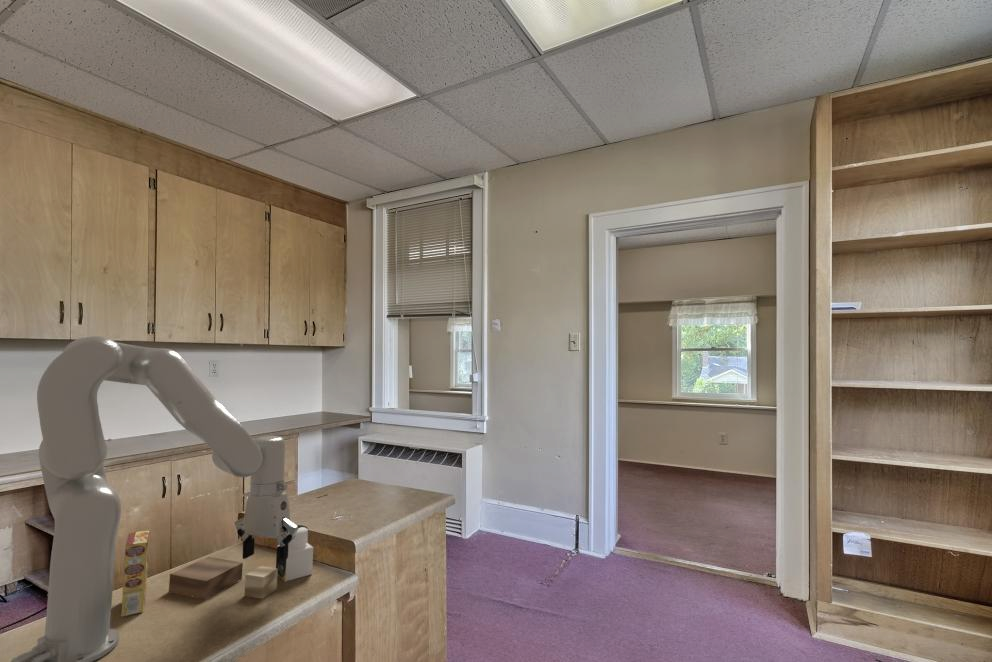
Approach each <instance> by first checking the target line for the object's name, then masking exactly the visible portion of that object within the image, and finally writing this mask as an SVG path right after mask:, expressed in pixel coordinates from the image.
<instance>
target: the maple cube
mask: <svg viewBox="0 0 992 662" xmlns="http://www.w3.org/2000/svg"><path fill="white" fill-rule="evenodd" d="M277 573H278V569H277V568H276V567H270V566H263V565H259V566H258V567H256V568H254V569H253V570H251V571H249V572H247V573H246V574H245V577H244V581H245V582H244V593H243V594H244V595H245V597H250V598H257V599H260V600H262V599H264V598H266V597H268V596H269V595H270V594H272V593H273V592H275V591H276V590H277V589H278V588H277V587H278V574H277Z"/></svg>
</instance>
